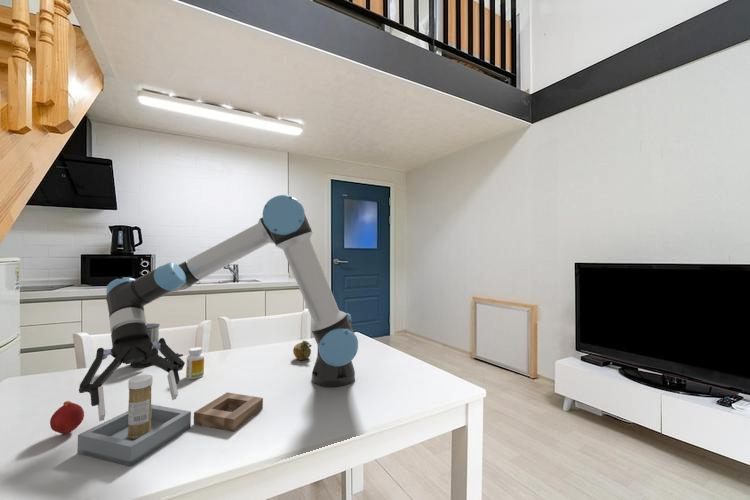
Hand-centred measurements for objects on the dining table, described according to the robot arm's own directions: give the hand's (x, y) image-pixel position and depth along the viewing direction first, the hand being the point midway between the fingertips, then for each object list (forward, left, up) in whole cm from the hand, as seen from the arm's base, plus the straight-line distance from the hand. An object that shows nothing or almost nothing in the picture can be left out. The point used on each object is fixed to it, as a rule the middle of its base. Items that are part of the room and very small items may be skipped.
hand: (141, 406), depth 72 cm
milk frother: (+44, -42, -9) cm, 61 cm away
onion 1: (+20, +2, -9) cm, 22 cm away
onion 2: (-8, -63, -9) cm, 64 cm away
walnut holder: (-11, -16, -8) cm, 21 cm away
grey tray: (+2, -1, -8) cm, 9 cm away
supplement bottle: (+19, -35, -9) cm, 41 cm away
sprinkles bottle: (+2, -1, -8) cm, 8 cm away
